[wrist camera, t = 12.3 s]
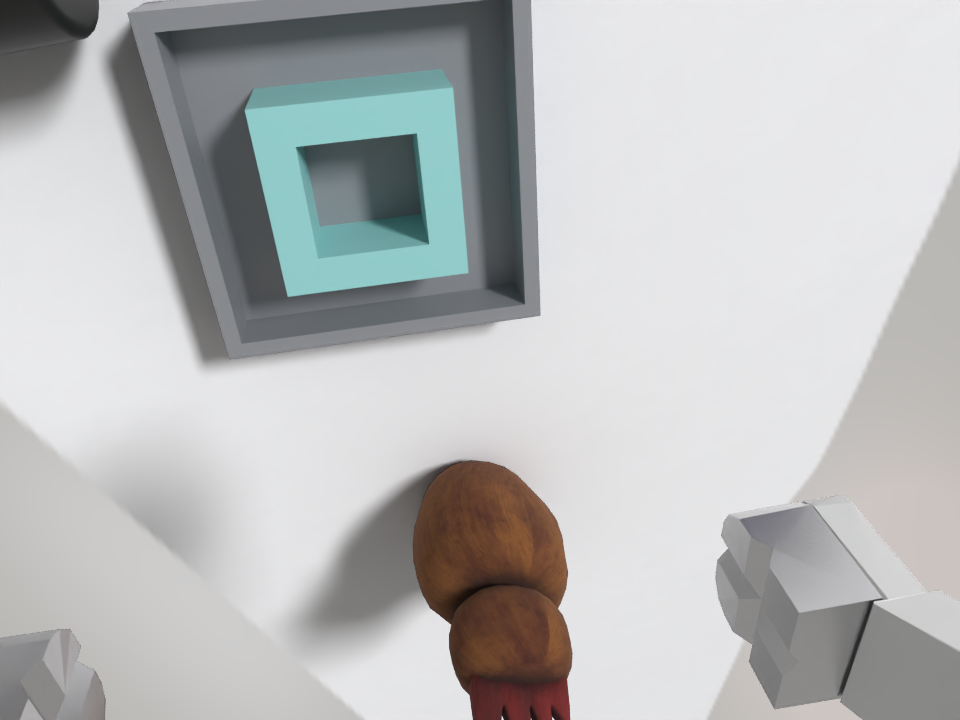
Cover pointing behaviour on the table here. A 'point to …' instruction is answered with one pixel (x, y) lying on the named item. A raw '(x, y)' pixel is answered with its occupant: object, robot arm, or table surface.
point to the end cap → (45, 22)
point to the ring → (346, 117)
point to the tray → (347, 156)
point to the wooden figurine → (497, 590)
